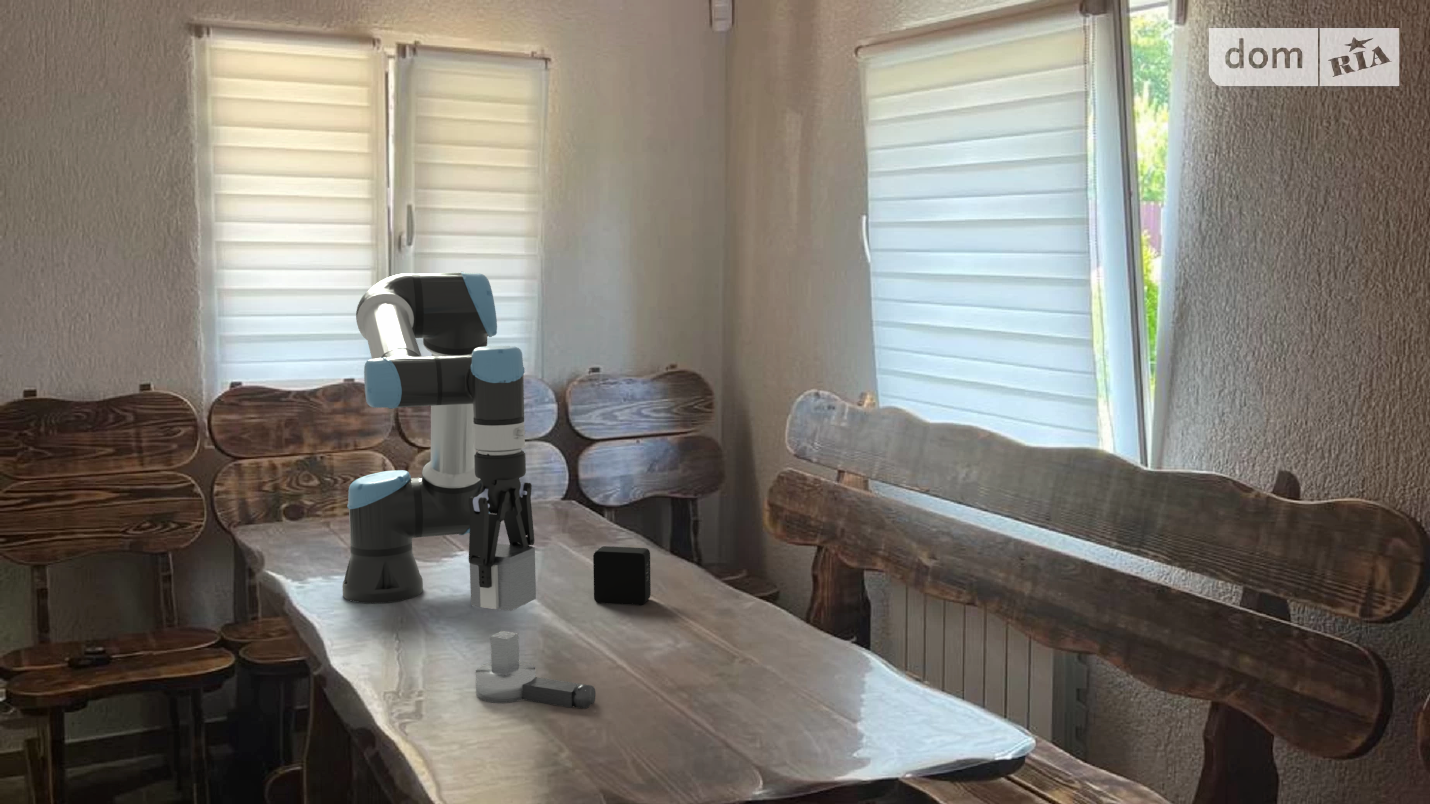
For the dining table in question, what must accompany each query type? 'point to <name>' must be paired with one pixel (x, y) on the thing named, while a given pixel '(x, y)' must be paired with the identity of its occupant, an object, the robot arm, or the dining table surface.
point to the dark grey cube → (509, 577)
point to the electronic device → (621, 575)
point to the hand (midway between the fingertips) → (503, 600)
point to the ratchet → (524, 679)
